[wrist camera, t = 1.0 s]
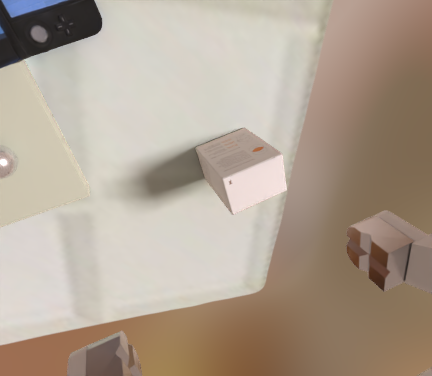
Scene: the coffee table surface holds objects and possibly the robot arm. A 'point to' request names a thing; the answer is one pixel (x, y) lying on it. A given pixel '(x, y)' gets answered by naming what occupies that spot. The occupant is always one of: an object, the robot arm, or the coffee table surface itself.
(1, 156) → the steel ball
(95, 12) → the handheld game console
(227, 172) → the small box
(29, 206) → the beige flat block
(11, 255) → the coffee table surface
